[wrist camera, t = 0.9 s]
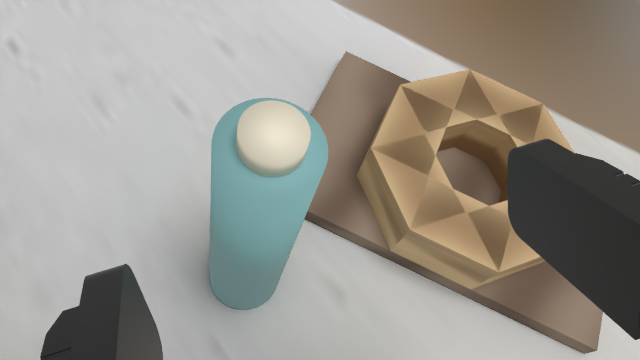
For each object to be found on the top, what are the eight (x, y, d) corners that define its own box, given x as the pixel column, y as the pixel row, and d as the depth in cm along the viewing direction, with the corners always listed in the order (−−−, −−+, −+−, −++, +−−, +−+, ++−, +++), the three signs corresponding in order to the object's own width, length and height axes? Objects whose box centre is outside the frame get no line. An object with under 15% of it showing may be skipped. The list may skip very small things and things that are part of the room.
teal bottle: (196, 290, 30) (188, 150, 17) (229, 232, 32) (247, 63, 18) (259, 321, 30) (304, 206, 16) (288, 261, 32) (352, 113, 18)
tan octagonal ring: (334, 223, 33) (347, 199, 30) (401, 77, 39) (418, 45, 36) (528, 317, 32) (562, 303, 29) (564, 154, 39) (595, 128, 36)
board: (266, 200, 34) (268, 191, 33) (342, 61, 40) (345, 51, 39) (584, 353, 33) (597, 350, 32) (610, 188, 40) (621, 181, 38)
